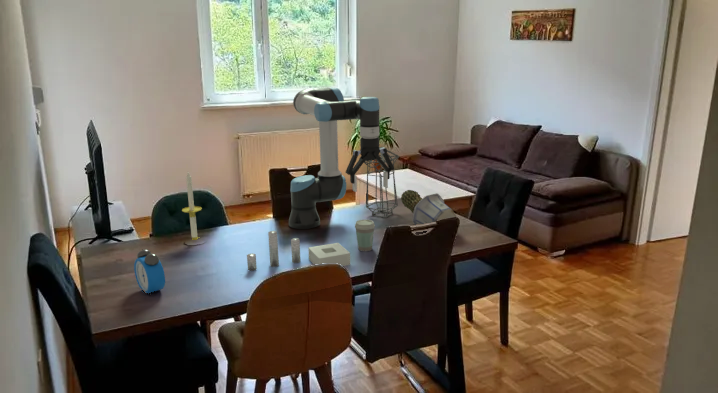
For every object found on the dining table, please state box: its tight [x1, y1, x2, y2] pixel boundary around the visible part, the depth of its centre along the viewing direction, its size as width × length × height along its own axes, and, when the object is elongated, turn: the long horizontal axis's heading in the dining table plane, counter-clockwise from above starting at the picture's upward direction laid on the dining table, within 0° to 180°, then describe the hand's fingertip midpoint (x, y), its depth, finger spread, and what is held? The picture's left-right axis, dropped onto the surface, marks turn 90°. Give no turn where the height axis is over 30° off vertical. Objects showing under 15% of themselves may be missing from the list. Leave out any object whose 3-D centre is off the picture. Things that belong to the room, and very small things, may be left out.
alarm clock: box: [133, 248, 166, 294], centre depth 201 cm, size 13×6×15 cm, turn 43°
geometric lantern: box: [363, 146, 401, 219], centre depth 282 cm, size 16×16×35 cm
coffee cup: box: [354, 219, 376, 252], centre depth 239 cm, size 9×8×12 cm
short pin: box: [246, 253, 258, 272], centre depth 220 cm, size 3×3×6 cm
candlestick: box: [181, 171, 203, 240], centre depth 247 cm, size 10×10×32 cm
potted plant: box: [400, 189, 457, 226], centre depth 264 cm, size 18×18×30 cm
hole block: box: [308, 242, 351, 267], centre depth 226 cm, size 13×13×5 cm
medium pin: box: [290, 237, 301, 264], centre depth 226 cm, size 3×3×10 cm
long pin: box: [267, 230, 280, 268], centre depth 222 cm, size 3×3×14 cm
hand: (370, 189), depth 227 cm, fingers open, 13 cm apart
